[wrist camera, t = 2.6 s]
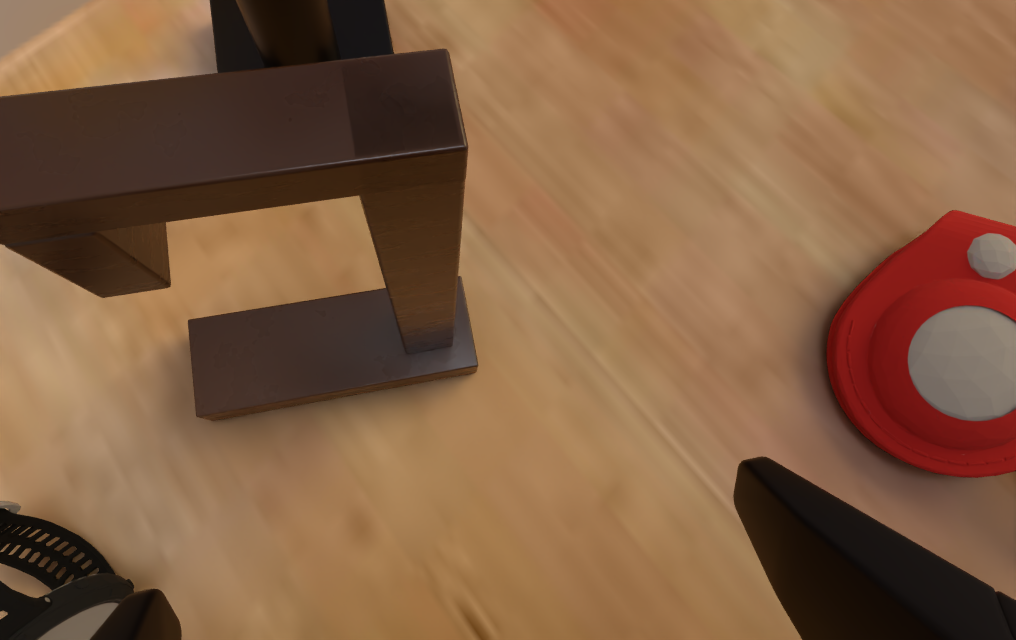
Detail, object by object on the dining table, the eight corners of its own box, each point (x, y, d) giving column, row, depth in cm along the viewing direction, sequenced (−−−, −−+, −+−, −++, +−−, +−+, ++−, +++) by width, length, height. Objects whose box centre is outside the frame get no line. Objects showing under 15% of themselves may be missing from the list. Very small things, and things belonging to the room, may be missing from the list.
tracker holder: (806, 441, 22) (897, 168, 22) (778, 431, 26) (855, 203, 26) (1220, 586, 19) (1321, 273, 19) (1113, 548, 23) (1196, 293, 24)
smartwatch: (41, 681, 19) (-97, 750, 14) (-2, 516, 20) (-145, 527, 15) (181, 618, 20) (95, 663, 15) (133, 462, 21) (37, 456, 16)
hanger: (476, 372, 22) (532, 195, 8) (211, 421, 21) (-242, 307, 7) (460, 287, 23) (486, -8, 9) (202, 329, 22) (-226, 61, 8)
